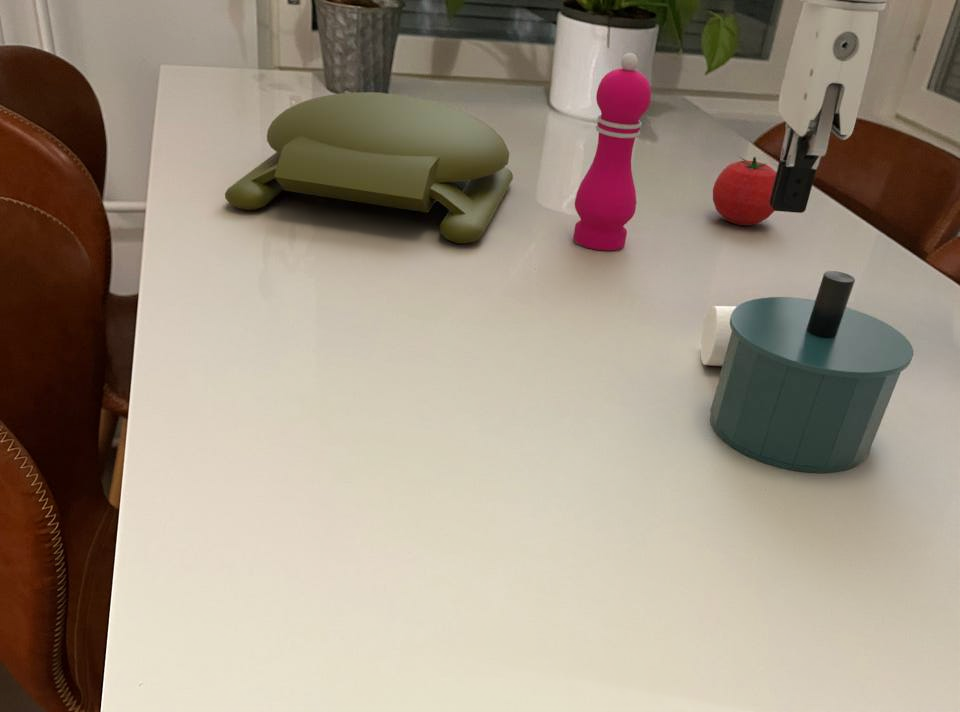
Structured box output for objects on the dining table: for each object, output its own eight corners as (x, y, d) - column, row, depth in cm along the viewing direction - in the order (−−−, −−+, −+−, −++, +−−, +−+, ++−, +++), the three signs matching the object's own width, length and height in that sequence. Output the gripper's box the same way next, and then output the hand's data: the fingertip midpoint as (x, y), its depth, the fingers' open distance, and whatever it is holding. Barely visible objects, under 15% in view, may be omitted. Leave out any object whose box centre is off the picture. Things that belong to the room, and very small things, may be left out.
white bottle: (830, 389, 93) (850, 331, 89) (705, 375, 92) (720, 317, 89) (816, 361, 97) (835, 306, 94) (697, 348, 97) (711, 292, 93)
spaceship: (478, 251, 112) (486, 159, 106) (218, 210, 114) (212, 118, 108) (520, 171, 139) (529, 94, 133) (309, 140, 141) (308, 62, 135)
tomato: (700, 224, 128) (716, 158, 123) (712, 206, 135) (727, 143, 130) (767, 238, 126) (786, 171, 121) (776, 219, 133) (794, 156, 128)
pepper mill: (619, 233, 122) (652, 48, 109) (635, 253, 117) (673, 62, 104) (563, 230, 121) (590, 43, 108) (577, 251, 116) (608, 57, 103)
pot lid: (877, 318, 86) (901, 253, 82) (934, 394, 75) (964, 323, 71) (713, 302, 85) (730, 235, 82) (746, 376, 74) (767, 303, 71)
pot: (843, 402, 91) (876, 313, 85) (888, 479, 80) (928, 383, 75) (698, 389, 90) (722, 297, 85) (725, 464, 80) (753, 366, 74)
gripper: (917, 0, 78) (845, 237, 90) (863, -24, 89) (806, 189, 101) (823, -9, 78) (764, 231, 89) (781, -32, 89) (733, 184, 101)
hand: (786, 208), depth 95 cm, fingers closed
